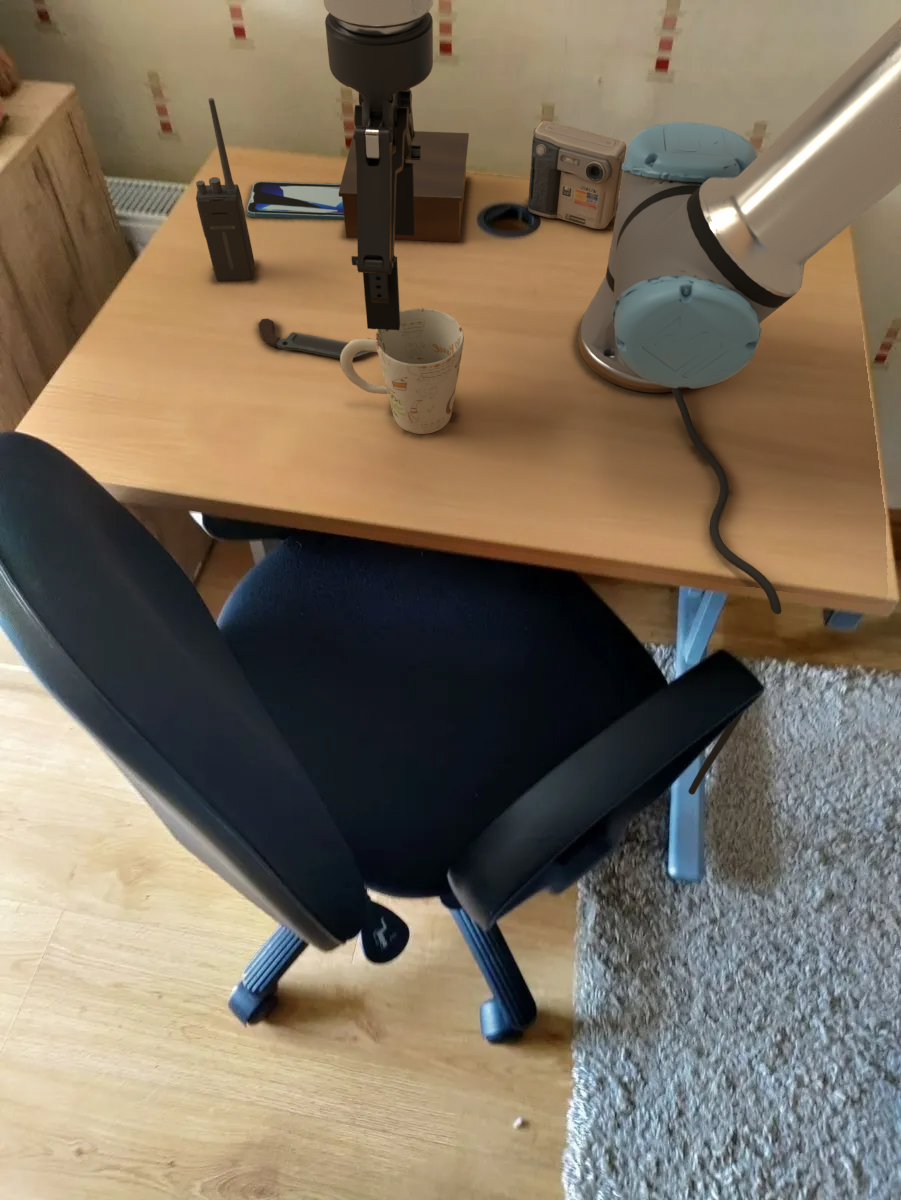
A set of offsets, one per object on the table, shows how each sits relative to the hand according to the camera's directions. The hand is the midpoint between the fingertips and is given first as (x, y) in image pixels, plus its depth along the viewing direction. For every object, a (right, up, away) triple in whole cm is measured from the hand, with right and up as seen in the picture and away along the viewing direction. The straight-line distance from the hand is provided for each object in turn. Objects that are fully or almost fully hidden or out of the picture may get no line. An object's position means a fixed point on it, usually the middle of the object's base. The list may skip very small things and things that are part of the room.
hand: (392, 277), depth 79 cm
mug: (0, -9, +13) cm, 16 cm away
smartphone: (-13, +22, +35) cm, 44 cm away
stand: (0, +21, +34) cm, 40 cm away
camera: (+20, +20, +34) cm, 44 cm away
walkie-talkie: (-20, +10, +27) cm, 35 cm away
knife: (-10, -1, +19) cm, 21 cm away
